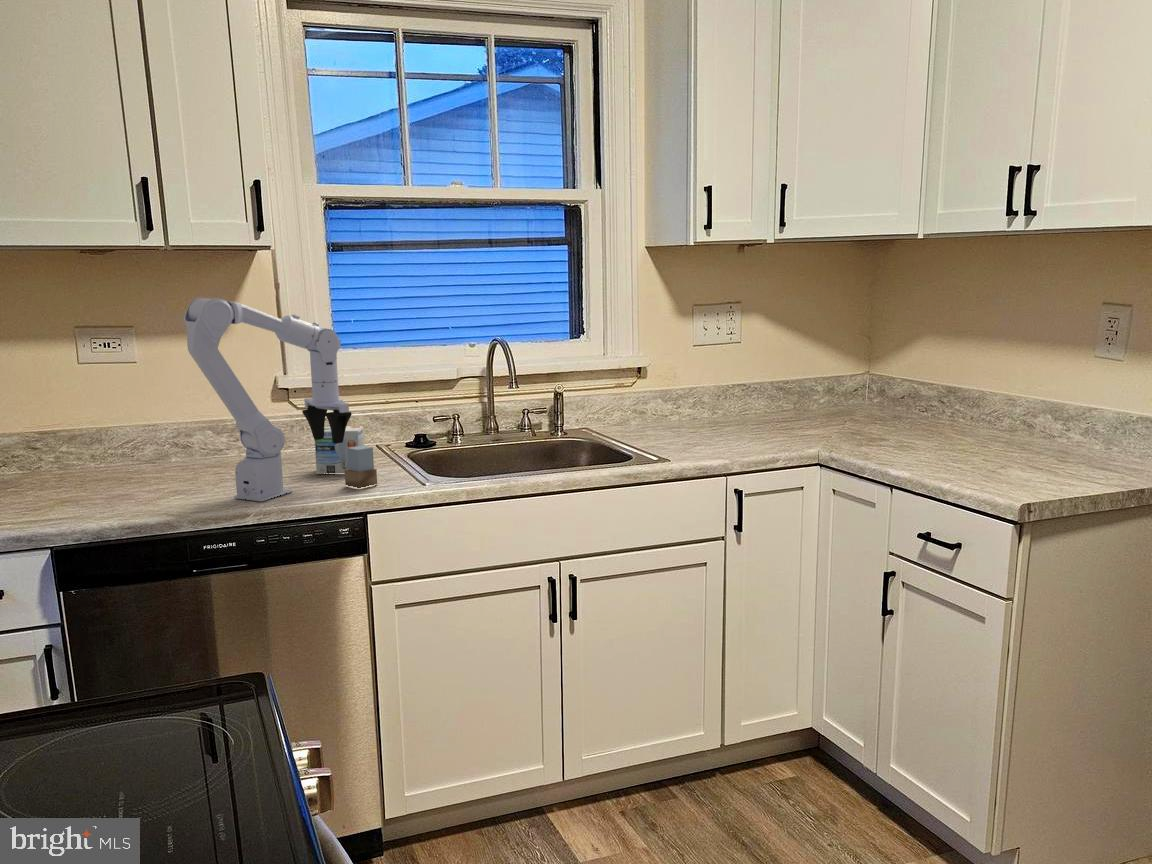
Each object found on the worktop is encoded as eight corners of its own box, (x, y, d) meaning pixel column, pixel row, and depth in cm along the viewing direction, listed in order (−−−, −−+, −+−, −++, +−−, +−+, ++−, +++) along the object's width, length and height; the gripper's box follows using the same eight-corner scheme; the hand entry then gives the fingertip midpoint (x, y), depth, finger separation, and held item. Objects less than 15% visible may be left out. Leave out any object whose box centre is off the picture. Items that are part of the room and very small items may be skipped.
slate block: (359, 472, 198) (357, 450, 197) (348, 469, 201) (347, 447, 200) (373, 469, 201) (372, 447, 200) (363, 466, 204) (362, 445, 203)
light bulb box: (315, 475, 213) (313, 431, 211) (322, 469, 220) (320, 426, 218) (360, 474, 214) (358, 430, 212) (366, 468, 220) (364, 425, 218)
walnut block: (359, 490, 198) (358, 473, 197) (345, 487, 201) (344, 470, 200) (377, 486, 202) (376, 469, 201) (363, 483, 205) (362, 466, 204)
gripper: (359, 382, 199) (362, 442, 201) (321, 377, 208) (325, 435, 210) (331, 385, 193) (335, 446, 196) (294, 380, 203) (298, 439, 205)
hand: (328, 441), depth 203 cm, fingers open, 7 cm apart
